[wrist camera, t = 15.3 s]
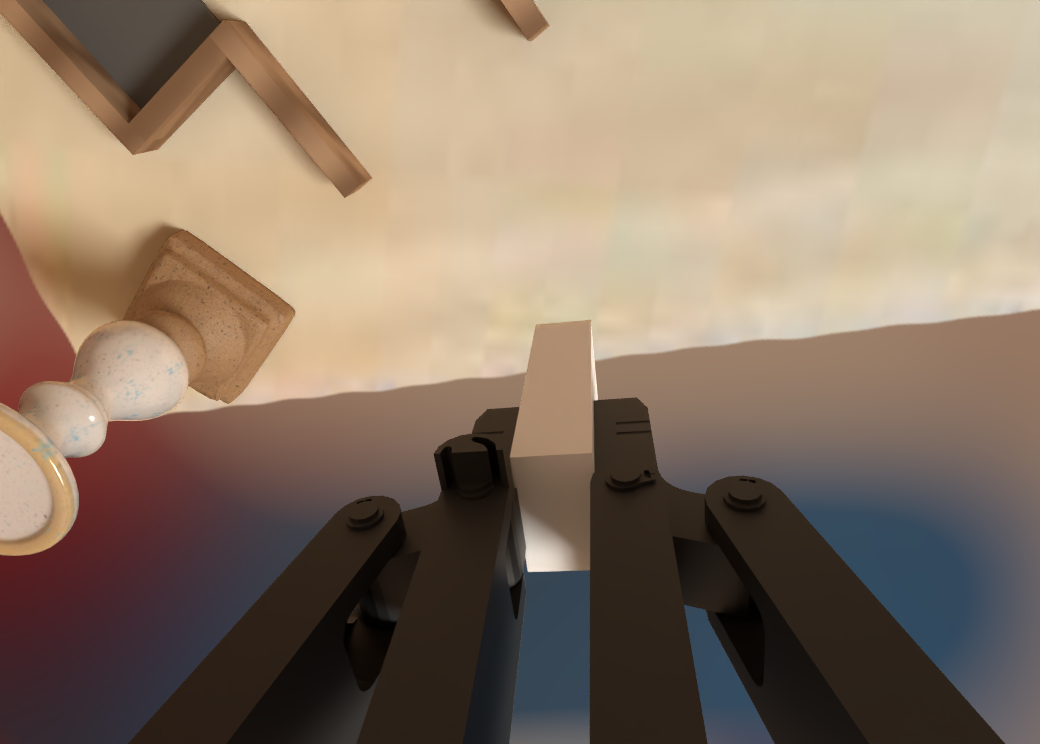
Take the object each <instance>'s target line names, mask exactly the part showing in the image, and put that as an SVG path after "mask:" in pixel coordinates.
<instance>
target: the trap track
mask: <svg viewBox="0 0 1040 744" xmlns="http://www.w3.org/2000/svg"><path fill="white" fill-rule="evenodd" d="M501 1H502V3H503V4H504V6H505V7H506V9H507V10H508V12H509V13H510V14H511V16H512V17H513V19H514V20H515V22H516V23H517V25H518V26H519V28H520V29H521V31H522V32H523V34H524V35H525V37H526V38H527V40H529V41H532V40H534V39H535V38H536V37H537V36H538V35H539V34H541V33H542V32H543V31H544V30H545V29H546V28H547V27H549V24H548V23H547V21H546V20H545V18H544V17H543V15H542V14H541V12H540V11H539V9H538V8H537V6H536V4H535V3H534V1H533V0H501ZM0 13H1V14H2V15H3V16H4V17H5V18H6V19H7V20H8V22H9V23H10V24H11V25H12V26H13V27H14V28H15V29H16V30H17V31H18V32H19V33H20V34H21V35H22V37H23V38H24V39H25V40H26V41H27V42H28V43H29V44H30V45H31V46H32V47H33V48H34V49H35V50H36V52H37V53H38V54H39V55H40V56H41V57H42V58H43V59H44V60H45V61H46V62H47V63H48V64H49V66H50V67H51V68H52V69H53V70H54V71H55V72H56V73H57V74H58V75H59V76H60V77H61V78H62V79H63V81H64V82H65V83H66V84H67V85H68V86H69V87H70V88H71V89H72V90H73V91H74V92H75V93H76V94H77V96H78V97H79V98H80V99H81V100H82V101H83V102H84V103H85V104H86V105H87V106H88V107H89V108H90V110H91V111H92V112H93V113H94V114H95V115H96V116H97V117H98V118H99V119H100V120H101V121H102V122H103V123H104V125H105V126H106V127H107V128H108V129H109V130H110V131H111V132H112V133H113V134H114V135H115V136H116V137H117V138H118V140H119V141H120V142H121V143H122V144H123V145H124V146H125V147H126V148H127V149H128V150H129V151H130V152H131V154H132V155H134V154H139V153H144V152H148V151H153V150H158V149H159V148H160V147H161V146H162V144H163V143H164V142H165V141H166V140H167V139H168V138H169V137H170V136H171V135H172V134H173V133H174V132H175V131H176V130H177V129H178V128H179V127H180V126H181V125H182V124H183V123H184V122H185V121H186V119H187V118H188V117H189V116H190V115H191V114H192V113H193V112H194V111H195V110H196V109H197V108H198V107H199V106H200V105H201V104H202V103H203V102H204V101H205V100H206V99H207V98H208V97H209V96H210V95H211V93H212V92H213V91H214V90H215V89H216V88H217V87H218V86H219V85H220V84H221V83H222V82H223V81H224V80H225V79H226V78H227V77H228V76H229V75H230V74H231V73H232V72H233V71H234V70H235V68H237V70H238V71H239V72H240V73H241V74H242V75H243V77H244V78H245V79H246V80H247V81H248V83H249V84H250V85H251V86H252V87H253V89H254V90H255V91H256V92H257V93H258V95H259V96H260V97H261V98H262V99H263V101H264V102H265V103H266V104H267V105H268V107H269V108H270V109H271V110H272V111H273V113H274V114H275V115H276V116H277V117H278V119H279V120H280V121H281V122H282V123H283V125H284V126H285V127H286V128H287V129H288V131H289V132H290V133H291V134H292V135H293V137H294V138H295V139H296V140H297V141H298V142H299V144H300V145H301V146H302V147H303V148H304V150H305V151H306V152H307V153H308V154H309V156H310V157H311V158H312V159H313V160H314V162H315V163H316V164H317V165H318V166H319V168H320V169H321V170H322V171H323V172H324V174H325V175H326V176H327V177H328V178H329V180H330V181H331V182H332V183H333V184H334V186H335V187H336V188H337V189H338V190H339V192H340V193H341V194H342V195H343V196H344V198H345V197H347V196H349V195H351V194H352V193H354V192H356V191H357V190H359V189H360V188H361V187H362V186H364V185H365V184H366V183H367V182H368V181H369V180H371V179H372V177H371V176H370V175H369V173H368V172H367V171H366V170H365V168H364V167H363V166H362V165H361V164H360V162H359V161H358V160H357V159H356V157H355V156H354V155H353V154H352V152H351V151H350V150H349V149H348V147H347V146H346V145H345V144H344V143H343V141H342V140H341V139H340V138H339V136H338V135H337V134H336V133H335V131H334V130H333V129H332V128H331V127H330V125H329V124H328V123H327V122H326V120H325V119H324V118H323V117H322V115H321V114H320V113H319V112H318V111H317V109H316V108H315V107H314V106H313V104H312V103H311V102H310V101H309V99H308V98H307V97H306V96H305V94H304V93H303V92H302V91H301V90H300V88H299V87H298V86H297V85H296V83H295V82H294V81H293V80H292V78H291V77H290V76H289V75H288V74H287V72H286V71H285V70H284V69H283V67H282V66H281V65H280V64H279V62H278V61H277V60H276V59H275V58H274V56H273V55H272V54H271V53H270V51H269V50H268V49H267V48H266V46H265V45H264V44H263V43H262V42H261V40H260V39H259V38H258V37H257V35H256V34H255V33H254V32H253V30H252V29H251V28H250V27H249V25H248V24H247V23H246V22H240V21H230V20H223V21H222V22H221V23H220V22H219V21H218V20H217V18H216V17H215V16H214V15H213V14H212V12H211V11H210V10H209V9H208V8H207V6H206V5H205V4H204V3H203V1H202V0H0Z"/></svg>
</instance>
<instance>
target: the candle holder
mask: <svg viewBox="0 0 1040 744" xmlns="http://www.w3.org/2000/svg"><path fill="white" fill-rule="evenodd" d="M294 315H295V310H294V309H293V308H292V307H291V306H290V305H289V304H287V303H286V302H285V301H284V300H282V299H281V298H280V297H279V296H277V295H276V294H275V293H273V292H272V291H270V290H269V289H268V288H266V287H265V286H263V285H262V284H261V283H259V282H258V281H257V280H255V279H254V278H252V277H251V276H250V275H248V274H247V273H246V272H244V271H243V270H241V269H240V268H239V267H237V266H236V265H235V264H233V263H232V262H230V261H229V260H228V259H226V258H225V257H223V256H222V255H221V254H219V253H218V252H217V251H215V250H214V249H212V248H211V247H210V246H208V245H207V244H206V243H204V242H203V241H201V240H200V239H198V238H197V237H195V236H194V235H192V234H191V233H189V232H187V231H184V230H182V231H180V232H178V233H175V234H173V235H171V236H170V237H169V238H168V239H167V240H166V242H165V243H164V245H163V247H162V248H161V250H160V251H159V253H158V255H157V257H156V259H155V260H154V262H153V264H152V266H151V268H150V270H149V272H148V273H147V275H146V277H145V279H144V281H143V283H142V285H141V287H140V288H139V290H138V292H137V294H136V296H135V298H134V300H133V301H132V303H131V305H130V307H129V309H128V311H127V313H126V314H125V317H124V319H123V321H115V322H111V323H108V324H105V325H103V326H101V327H99V328H97V329H96V330H94V331H93V332H92V333H91V334H90V335H89V336H88V337H87V338H86V339H85V340H84V342H83V343H82V345H81V346H80V348H79V351H78V353H77V356H76V359H75V364H74V371H73V375H72V378H71V380H70V382H69V383H68V382H55V381H45V382H40V383H37V384H34V385H33V386H31V387H29V388H28V389H27V390H26V391H25V392H24V393H23V395H22V397H21V399H20V402H19V410H18V412H17V411H15V410H13V409H11V408H10V407H8V406H6V405H4V404H2V403H0V555H16V556H17V555H29V554H33V553H37V552H41V551H44V550H46V549H48V548H50V547H52V546H53V545H54V544H56V543H57V542H58V541H60V540H61V539H62V538H63V537H64V536H65V535H66V534H67V532H68V531H69V530H70V529H71V527H72V525H73V523H74V521H75V519H76V516H77V512H78V507H79V498H78V489H77V485H76V480H75V478H74V475H73V473H72V470H71V468H70V466H69V464H68V463H67V461H66V459H65V457H83V456H87V455H90V454H92V453H94V452H95V451H96V450H97V449H99V448H100V446H101V445H102V444H103V442H104V440H105V437H106V429H107V424H108V422H109V421H115V420H121V421H140V420H148V419H152V418H156V417H159V416H162V415H164V414H165V413H167V412H169V411H171V410H172V409H173V408H175V407H176V406H177V405H178V404H179V403H180V402H181V400H182V399H183V398H184V396H185V394H186V391H187V389H188V386H190V387H192V388H193V389H195V390H196V391H198V392H200V393H201V394H203V395H205V396H207V397H208V398H210V399H214V400H216V401H218V400H219V399H220V400H222V401H223V402H225V403H228V404H229V403H231V402H232V401H233V400H234V399H235V398H237V397H238V396H239V395H240V394H241V393H242V392H243V390H244V389H245V388H246V386H247V385H248V384H249V382H250V381H251V380H252V378H253V377H254V375H255V374H256V372H257V371H258V369H259V368H260V366H261V365H262V363H263V362H264V361H265V359H266V358H267V356H268V355H269V353H270V352H271V350H272V349H273V347H274V346H275V344H276V343H277V342H278V340H279V339H280V337H281V336H282V334H283V333H284V331H285V330H286V328H287V327H288V325H289V323H290V322H291V320H292V318H293V317H294Z"/></svg>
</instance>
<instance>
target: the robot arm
mask: <svg viewBox="0 0 1040 744" xmlns="http://www.w3.org/2000/svg"><path fill="white" fill-rule="evenodd" d="M434 458H435V462H436V467H437V472H438V476H439V480H440V485H441V490H442V491H441V493H440V496H439V499H438V501H436V502H434V503H432V504H429V505H426V506H423V507H419V508H416V509H412V510H408V511H404V512H401V508H400V505H399V504H398V503H397V502H396V501H395V500H394V499H392V498H389V497H385V496H370V497H365V498H361V499H358V500H356V501H354V502H352V503H350V504H348V505H346V506H344V507H343V508H342V509H341V510H339V511H338V512H337V513H336V514H335V515H334V516H333V517H332V518H331V519H330V520H329V522H328V523H327V524H326V525H325V526H324V527H323V528H322V529H321V530H320V531H319V533H318V534H317V535H316V536H315V537H314V538H313V539H312V540H311V541H310V543H309V544H308V545H307V546H306V547H305V548H304V549H303V550H302V552H301V553H300V554H299V555H298V556H297V557H296V558H295V559H294V560H293V561H292V562H291V564H290V565H289V566H288V567H287V568H286V569H285V570H284V571H283V573H282V574H281V575H280V576H279V577H278V578H277V579H276V580H275V581H274V583H273V584H272V585H271V586H270V587H269V588H268V589H267V590H266V591H265V592H264V593H263V595H262V596H261V597H260V598H259V599H258V600H257V601H256V602H255V603H254V605H253V606H252V607H251V608H250V609H249V610H248V611H247V612H246V613H245V615H244V616H243V617H242V618H241V619H240V620H239V621H238V622H237V623H236V625H235V626H234V627H233V628H232V629H231V630H230V631H229V632H228V633H227V634H226V636H225V637H224V638H223V639H222V640H221V641H220V642H219V643H218V644H217V646H216V647H215V648H214V649H213V650H212V651H211V652H210V653H209V654H208V656H207V657H206V658H205V659H204V660H203V661H202V662H201V663H200V664H199V666H198V667H197V668H196V669H195V670H194V671H193V672H192V673H191V674H190V675H189V677H188V678H187V679H186V680H185V681H184V682H183V683H182V685H180V687H179V688H178V689H177V690H176V691H175V692H174V693H173V694H172V695H171V697H170V698H169V699H168V700H167V701H166V702H165V703H164V704H163V705H162V707H161V708H160V709H159V710H158V711H157V712H156V713H155V714H154V715H153V717H152V718H151V719H150V720H149V721H148V722H147V723H146V724H145V725H144V726H143V728H142V729H141V730H140V731H139V732H138V733H137V734H136V735H135V736H134V737H133V739H132V740H131V741H130V742H129V743H128V744H509V740H510V731H511V722H512V713H513V705H514V696H515V687H516V679H517V669H518V661H519V652H520V643H521V634H522V625H523V617H524V608H525V599H526V586H525V580H524V573H523V569H524V561H525V556H526V562H527V569H528V572H542V571H574V570H590V744H707V738H706V732H705V726H704V720H703V715H702V709H701V703H700V697H699V691H698V685H697V679H696V673H695V668H694V662H693V656H692V650H691V644H690V638H689V633H688V627H687V620H686V615H685V609H684V605H688V606H692V607H697V608H701V609H705V610H706V613H707V617H708V620H709V622H710V624H711V626H712V628H713V629H714V631H715V633H716V635H717V637H718V639H719V641H720V642H721V644H722V646H723V648H724V650H725V652H726V654H727V656H728V657H729V659H730V661H731V663H732V665H733V667H734V669H735V670H736V672H737V674H738V676H739V678H740V680H741V682H742V684H743V685H744V687H745V689H746V691H747V693H748V695H749V697H750V698H751V700H752V702H753V704H754V706H755V708H756V710H757V712H758V713H759V715H760V717H761V719H762V721H763V723H764V725H765V726H766V728H767V730H768V732H769V734H770V736H771V738H772V740H773V741H774V743H775V744H1005V743H1004V742H1003V741H1002V740H1001V739H1000V737H999V736H998V735H997V734H996V733H995V732H994V731H993V730H992V729H991V727H990V726H989V725H988V724H987V723H986V722H985V720H984V719H983V718H982V717H981V716H980V715H979V714H978V713H977V712H976V710H975V709H974V708H973V707H972V706H971V705H970V703H969V702H968V701H967V700H966V699H965V698H964V697H963V696H962V695H961V693H960V692H959V691H958V690H957V689H956V688H955V687H954V685H953V684H952V683H951V682H950V681H949V680H948V679H947V677H946V676H945V675H944V674H943V673H942V672H941V671H940V670H939V668H938V667H937V666H936V665H935V664H934V663H933V662H932V661H931V659H930V658H929V657H928V656H927V655H926V654H925V653H924V651H923V650H922V649H921V648H920V647H919V646H918V645H917V644H916V642H915V641H914V640H913V639H912V638H911V637H910V636H909V634H908V633H907V632H906V631H905V630H904V629H903V628H902V627H901V625H900V624H899V623H898V622H897V621H896V620H895V619H894V617H893V616H892V615H891V614H890V613H889V612H888V611H887V610H886V608H885V607H884V606H883V605H882V604H881V603H880V602H879V601H878V600H877V599H876V597H875V596H874V595H873V594H872V593H871V591H870V590H869V589H868V588H867V587H866V586H865V585H864V584H863V583H862V581H861V580H860V579H859V578H858V577H857V576H856V574H855V573H854V572H853V571H852V570H851V569H850V568H849V567H848V565H847V564H846V563H845V562H844V561H843V560H842V559H841V558H840V556H839V555H838V554H837V553H836V552H835V551H834V550H833V548H832V547H831V546H830V545H829V544H828V543H827V542H826V541H825V539H824V538H823V537H822V536H821V535H820V534H819V533H818V531H817V530H816V529H815V528H814V527H813V526H812V525H811V524H810V522H809V521H808V520H807V519H806V518H805V517H804V516H803V514H802V513H801V512H800V511H799V510H798V509H797V508H796V507H795V505H794V504H793V503H792V502H791V501H790V500H789V499H788V498H787V496H786V495H785V494H784V493H783V492H782V491H781V490H780V489H779V488H777V487H776V486H774V485H773V484H772V483H770V482H767V481H764V480H762V479H759V478H755V477H748V476H732V477H726V478H723V479H720V480H717V481H715V482H714V483H713V484H712V485H710V486H709V487H708V488H707V491H706V494H699V493H693V492H689V491H685V490H681V489H679V488H676V487H674V486H672V485H671V484H669V483H667V482H666V481H665V480H664V479H663V478H662V477H661V475H660V473H659V471H658V467H657V461H656V455H655V449H654V444H653V438H652V433H651V426H650V420H649V414H648V408H647V407H646V406H645V405H644V404H643V403H642V402H641V401H640V400H639V399H638V398H624V399H608V400H598V396H597V385H596V373H595V362H594V350H593V339H592V328H591V320H585V321H574V322H562V323H550V324H539V325H536V327H535V332H534V337H533V342H532V347H531V352H530V357H529V363H528V368H527V373H526V378H525V383H524V388H523V393H522V398H521V403H520V407H514V408H501V409H487V410H486V411H485V412H484V413H483V415H481V416H480V417H479V418H478V419H477V420H476V422H475V425H474V428H473V431H472V434H467V435H461V436H458V437H455V438H453V439H450V440H448V441H446V442H445V443H443V444H442V445H441V446H439V447H438V449H437V450H436V451H435V453H434ZM354 608H355V609H354ZM352 611H353V612H352Z"/></svg>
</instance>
